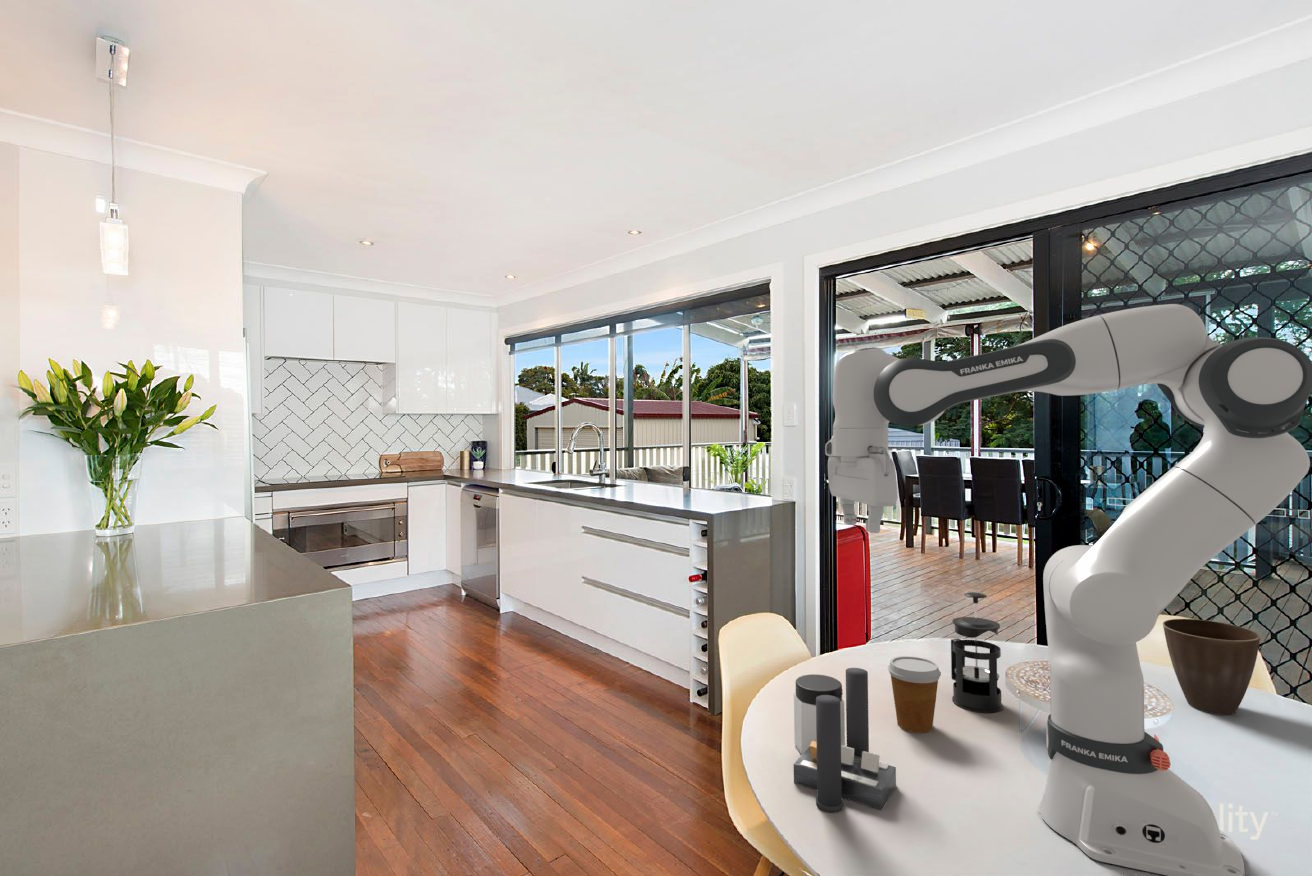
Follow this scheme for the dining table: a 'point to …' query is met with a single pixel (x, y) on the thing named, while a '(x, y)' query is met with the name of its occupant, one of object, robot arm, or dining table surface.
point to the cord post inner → (857, 710)
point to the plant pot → (1212, 662)
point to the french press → (975, 682)
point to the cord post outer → (828, 754)
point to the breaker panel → (852, 780)
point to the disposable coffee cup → (914, 692)
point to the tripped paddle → (813, 749)
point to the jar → (813, 707)
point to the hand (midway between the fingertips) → (861, 528)
